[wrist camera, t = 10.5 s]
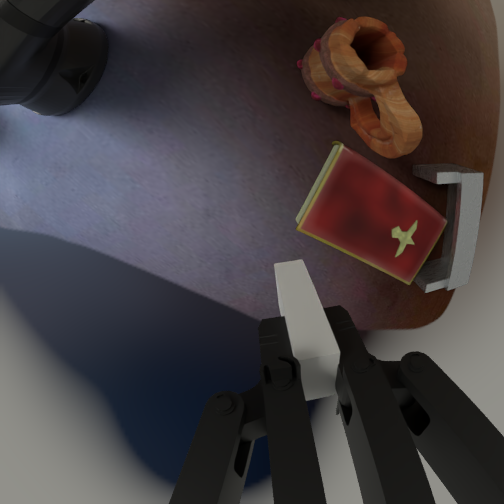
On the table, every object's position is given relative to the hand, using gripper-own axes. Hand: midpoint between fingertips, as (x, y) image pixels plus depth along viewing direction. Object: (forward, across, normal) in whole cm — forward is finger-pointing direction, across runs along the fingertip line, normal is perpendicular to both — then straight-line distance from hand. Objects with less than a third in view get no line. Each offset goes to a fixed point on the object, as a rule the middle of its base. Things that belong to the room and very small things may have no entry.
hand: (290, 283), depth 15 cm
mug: (+22, +11, +11) cm, 27 cm away
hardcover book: (+22, +16, -6) cm, 27 cm away
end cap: (+21, +26, -7) cm, 34 cm away
